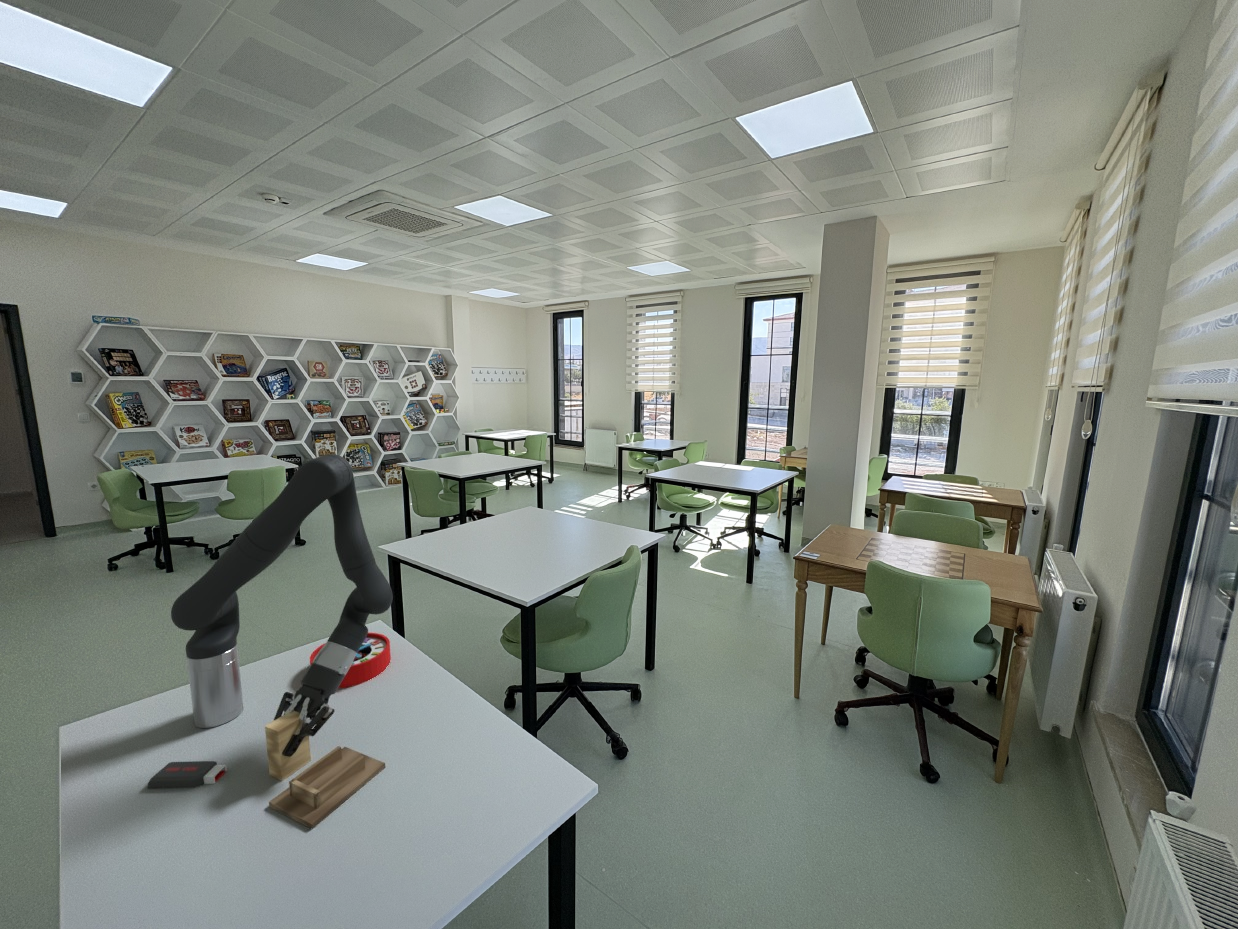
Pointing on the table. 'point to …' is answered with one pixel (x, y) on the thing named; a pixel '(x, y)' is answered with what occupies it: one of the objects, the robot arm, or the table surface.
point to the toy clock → (365, 660)
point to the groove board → (326, 785)
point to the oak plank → (277, 741)
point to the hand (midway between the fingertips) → (279, 752)
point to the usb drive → (187, 775)
